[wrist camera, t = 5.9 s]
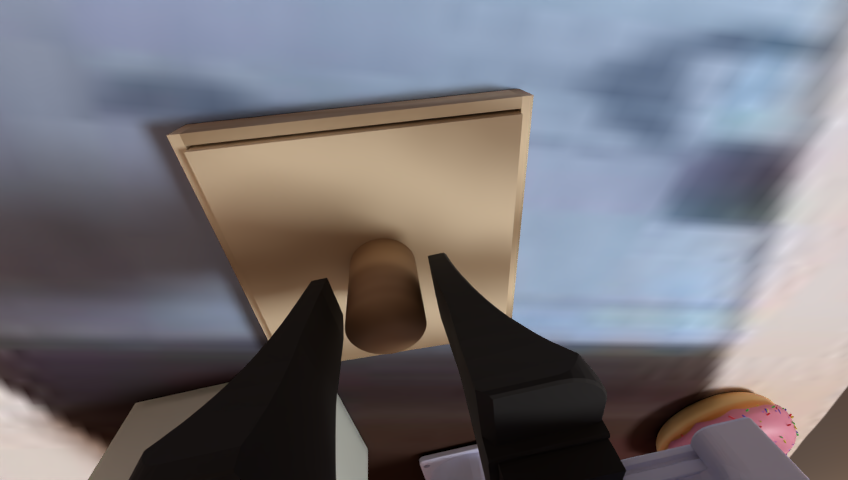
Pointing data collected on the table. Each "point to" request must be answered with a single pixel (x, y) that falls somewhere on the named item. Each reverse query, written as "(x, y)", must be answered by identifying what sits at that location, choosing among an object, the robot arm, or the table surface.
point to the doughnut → (728, 419)
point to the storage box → (170, 411)
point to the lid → (367, 207)
